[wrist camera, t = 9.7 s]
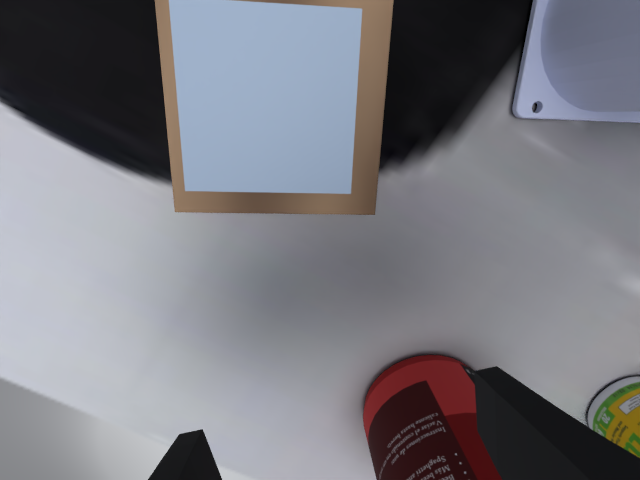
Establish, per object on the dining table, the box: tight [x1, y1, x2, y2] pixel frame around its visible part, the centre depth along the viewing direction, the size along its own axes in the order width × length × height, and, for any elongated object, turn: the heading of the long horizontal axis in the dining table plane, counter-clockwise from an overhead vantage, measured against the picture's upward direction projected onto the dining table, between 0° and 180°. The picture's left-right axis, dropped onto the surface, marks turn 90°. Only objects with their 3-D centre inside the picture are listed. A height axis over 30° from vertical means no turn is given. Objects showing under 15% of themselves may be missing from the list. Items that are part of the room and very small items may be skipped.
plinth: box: [155, 0, 393, 215], centre depth 16 cm, size 9×9×2 cm
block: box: [169, 0, 362, 194], centre depth 12 cm, size 4×4×6 cm
